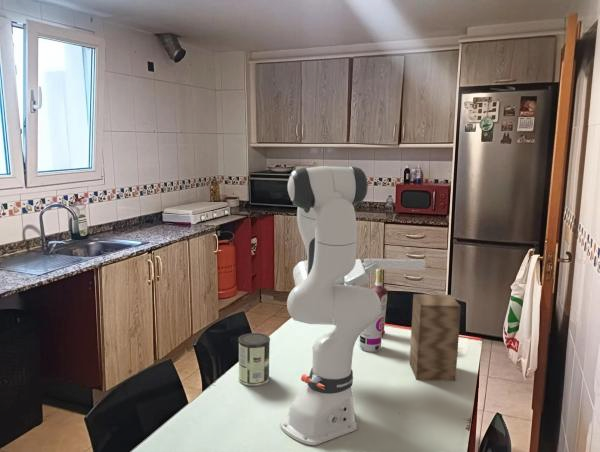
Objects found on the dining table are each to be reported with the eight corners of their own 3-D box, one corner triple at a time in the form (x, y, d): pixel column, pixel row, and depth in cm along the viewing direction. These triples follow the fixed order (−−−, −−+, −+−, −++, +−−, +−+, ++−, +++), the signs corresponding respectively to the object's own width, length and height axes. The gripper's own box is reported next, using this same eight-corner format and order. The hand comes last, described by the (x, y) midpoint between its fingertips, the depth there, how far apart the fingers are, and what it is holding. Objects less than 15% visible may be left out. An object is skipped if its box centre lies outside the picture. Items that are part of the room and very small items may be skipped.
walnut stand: (416, 379, 167) (420, 305, 163) (409, 363, 179) (413, 294, 174) (455, 380, 167) (460, 306, 162) (446, 364, 178) (450, 295, 174)
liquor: (377, 339, 201) (380, 271, 196) (363, 334, 206) (366, 268, 201) (389, 335, 205) (392, 269, 201) (375, 329, 211) (378, 265, 206)
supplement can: (384, 347, 193) (385, 310, 191) (375, 354, 186) (377, 316, 184) (365, 342, 197) (366, 306, 195) (355, 349, 191) (357, 311, 188)
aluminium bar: (364, 269, 166) (364, 260, 165) (363, 266, 169) (364, 258, 168) (425, 270, 165) (425, 261, 165) (423, 268, 168) (423, 259, 168)
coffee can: (256, 369, 173) (257, 330, 170) (275, 379, 165) (276, 339, 163) (231, 377, 166) (232, 337, 164) (250, 389, 158) (251, 347, 156)
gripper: (337, 282, 157) (376, 262, 156) (334, 266, 178) (369, 248, 176) (347, 299, 158) (386, 279, 157) (343, 281, 178) (377, 263, 177)
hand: (377, 262), depth 167 cm, fingers closed on aluminium bar, 3 cm apart
